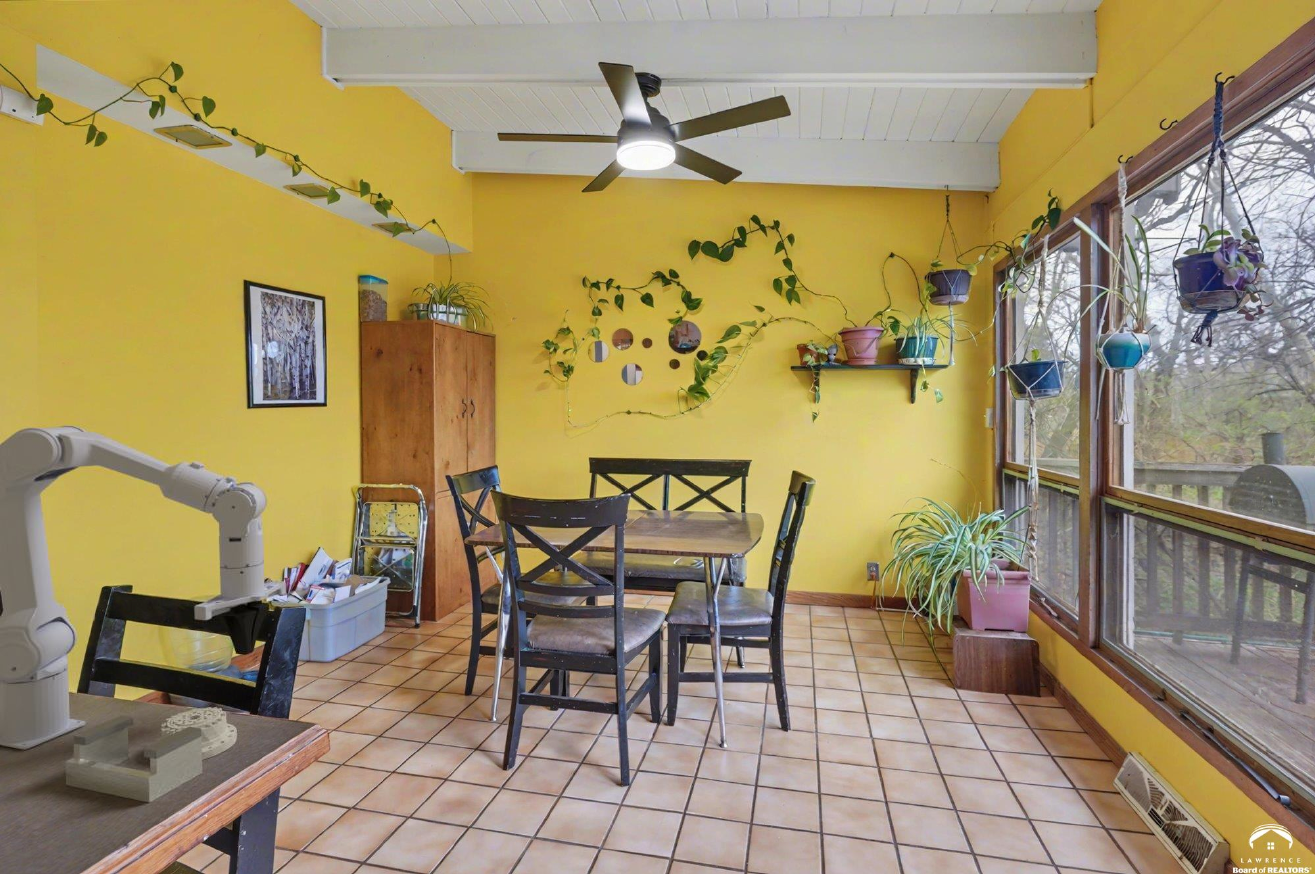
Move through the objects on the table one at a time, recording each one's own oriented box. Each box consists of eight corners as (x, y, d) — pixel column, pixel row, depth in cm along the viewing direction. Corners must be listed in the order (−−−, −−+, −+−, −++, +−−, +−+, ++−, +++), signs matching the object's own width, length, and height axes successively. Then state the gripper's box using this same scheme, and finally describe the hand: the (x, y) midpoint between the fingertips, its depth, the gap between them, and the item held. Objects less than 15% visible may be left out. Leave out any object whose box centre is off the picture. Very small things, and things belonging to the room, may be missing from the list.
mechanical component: (131, 762, 92) (194, 771, 90) (130, 730, 92) (194, 738, 90) (194, 728, 102) (253, 735, 100) (194, 699, 102) (253, 705, 100)
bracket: (66, 785, 86) (64, 739, 86) (122, 757, 93) (121, 715, 93) (149, 802, 83) (148, 755, 83) (202, 772, 90) (201, 728, 89)
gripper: (221, 577, 97) (224, 673, 98) (300, 555, 111) (302, 639, 112) (181, 574, 99) (184, 668, 100) (264, 553, 113) (266, 635, 114)
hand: (244, 652), depth 106 cm, fingers closed
